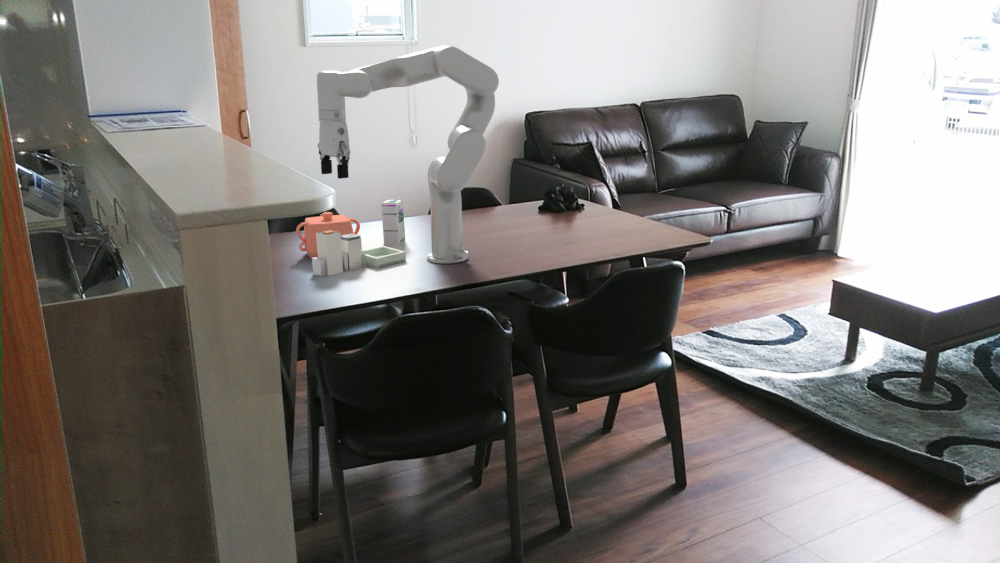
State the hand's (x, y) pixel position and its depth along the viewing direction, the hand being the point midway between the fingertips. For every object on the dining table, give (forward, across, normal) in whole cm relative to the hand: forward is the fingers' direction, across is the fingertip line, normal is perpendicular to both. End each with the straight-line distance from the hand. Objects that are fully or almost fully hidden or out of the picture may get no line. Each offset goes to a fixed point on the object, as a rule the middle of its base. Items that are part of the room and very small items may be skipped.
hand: (334, 175), depth 231 cm
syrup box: (+28, +15, -29) cm, 43 cm away
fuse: (+28, -2, +4) cm, 28 cm away
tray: (+28, -2, -14) cm, 31 cm away
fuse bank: (+28, -2, 0) cm, 28 cm away
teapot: (+28, +19, -7) cm, 35 cm away
